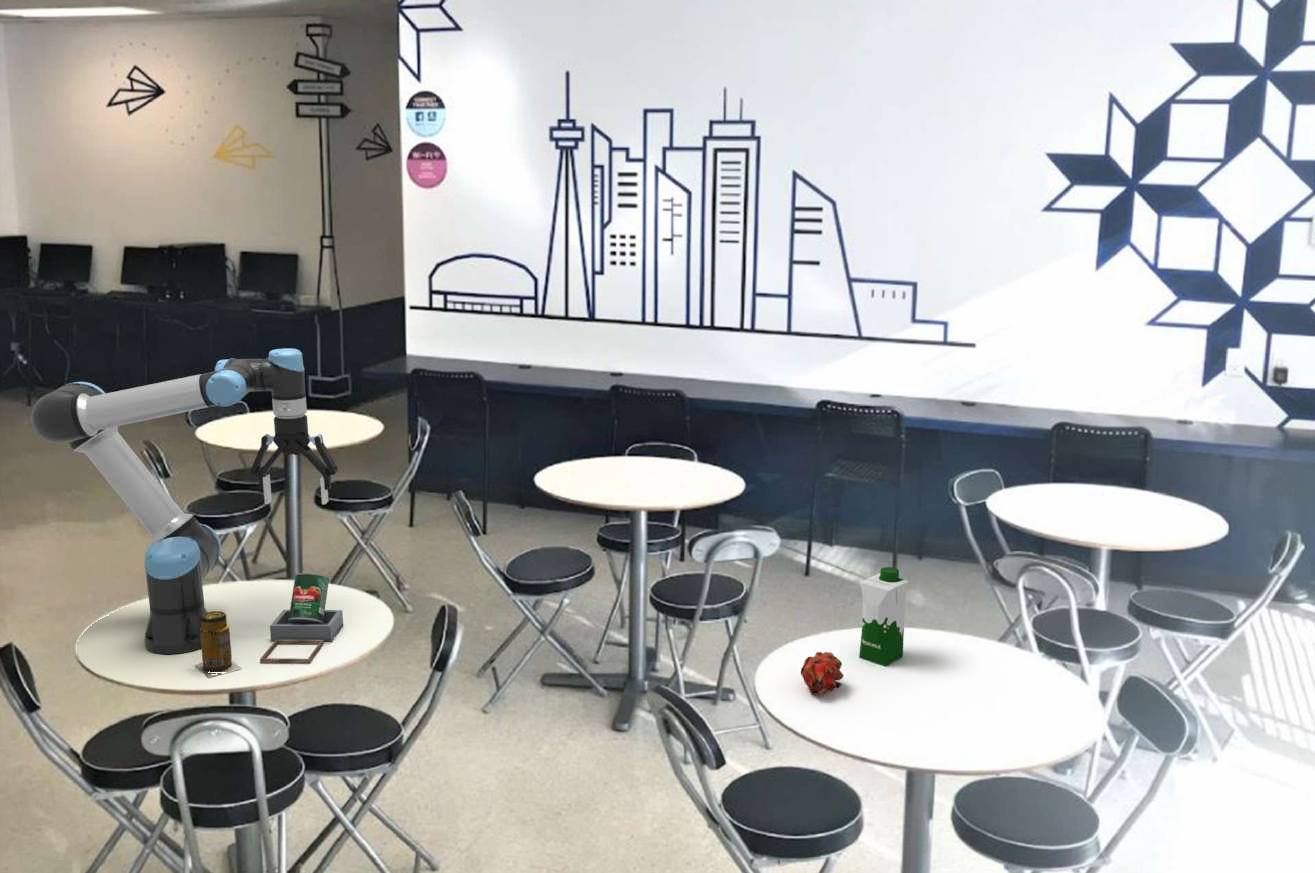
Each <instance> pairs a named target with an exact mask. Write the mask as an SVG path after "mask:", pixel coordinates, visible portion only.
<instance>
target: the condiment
mask: <svg viewBox="0 0 1315 873" xmlns="http://www.w3.org/2000/svg"><path fill="white" fill-rule="evenodd" d="M227 622H228V620H227V614H226V613H225V612H224V611H220V610H218V611H213V610H212V611H209V612H208V611H207V613H205V614H203V615H202V616H201V626H202V627H201V628H200V637H201V648H200V649H201V658H202V660H201V661H202V662H200V663H196V664H195V667H197V668H198V669H199V670H200V671H201V672H203V674H204V675H206V676H207V677H208V678H211V677H215V676H218V675H211V674H216V673H208V672H209V671H210V672H229V673H231V672H235V670H236V671H239V670H242V669H243V668H242V667H241V666H240V665H239V664H238V663H236V662H235V661H234V660H233V659H232V645H231V636H230V635H231V632H230V626H229V624H228V623H227ZM217 674H221V675H223V674H222V673H217Z"/></svg>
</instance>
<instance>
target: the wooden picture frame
mask: <svg viewBox="0 0 1315 873" xmlns="http://www.w3.org/2000/svg"><path fill="white" fill-rule="evenodd" d="M314 644H315V645H316V644H317V646H316V647H315V648H314V650H313V651H312V652H311V653H310V655H309V656H308V658H288V657H286V658H285V657H284V658H283V657H282V658H279V657H275V658H272V657H270V655H271V653H272V652H273V651H274V650H275V649H276V647H277V646H278V645H290V646H291V645H296V646H297V645H298V646H299V645H302V646H306V645H309V646H315V645H314ZM323 644H324V645H325V643H324V640H275V642H272V644H271V645H270V646H269V648H268V649H267V650H266V651H265V652H264V654H263V655H262V656H261V657H260V659H259V662H260V663H259V664H291V665H292V664H293V665H294V664H296V665H297V664H299V665H301V664H302V665H304V664H305V665H307V664H308V665H310V664H311V663H312V662H313V660H314V659H315V657H316V656H317V654H319V652H320V651H321V649H322V648H323V646H324V645H323ZM321 647H322V648H321ZM268 657H269V658H268Z"/></svg>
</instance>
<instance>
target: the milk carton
mask: <svg viewBox="0 0 1315 873" xmlns="http://www.w3.org/2000/svg"><path fill="white" fill-rule="evenodd" d="M899 570H900V569H898V568H896V567H892V566H887V567H882V568H880V572H879V573H877V574H874V575H873V576H870V577H867V578H866V579H864V580H862V581H860V588H861V593H862V595H861V596H862V612H861V613H862V614H861V636H860V645H859V654H858V655H859V656H858V658H859V659H862V660H866V661H869V662H872V663H875V664H878V665H881V666H884V667H887V666H889V665H890V664H893V663H894V662H896V661H898V660H900V659H901V658H902V657H904V635H905V634H904V633H905V616H906V615H905V613H906V598H907V592H908V587H909V585H908V584H909V580H906V579H903V578H900V571H899Z"/></svg>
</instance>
